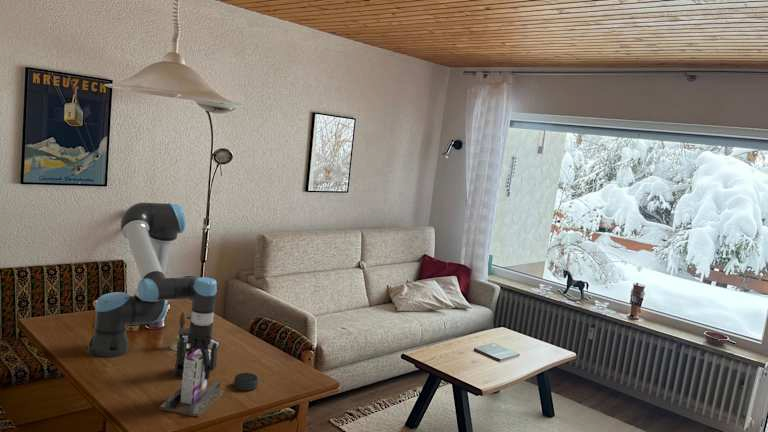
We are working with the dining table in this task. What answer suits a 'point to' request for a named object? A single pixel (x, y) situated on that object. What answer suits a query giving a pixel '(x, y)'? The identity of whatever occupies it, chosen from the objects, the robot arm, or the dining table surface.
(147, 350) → the dining table surface
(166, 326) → the dining table surface
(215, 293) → the robot arm
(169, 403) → the sliding track
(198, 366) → the candy bar box
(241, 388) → the smart speaker
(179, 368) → the french press
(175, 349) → the hand bell
